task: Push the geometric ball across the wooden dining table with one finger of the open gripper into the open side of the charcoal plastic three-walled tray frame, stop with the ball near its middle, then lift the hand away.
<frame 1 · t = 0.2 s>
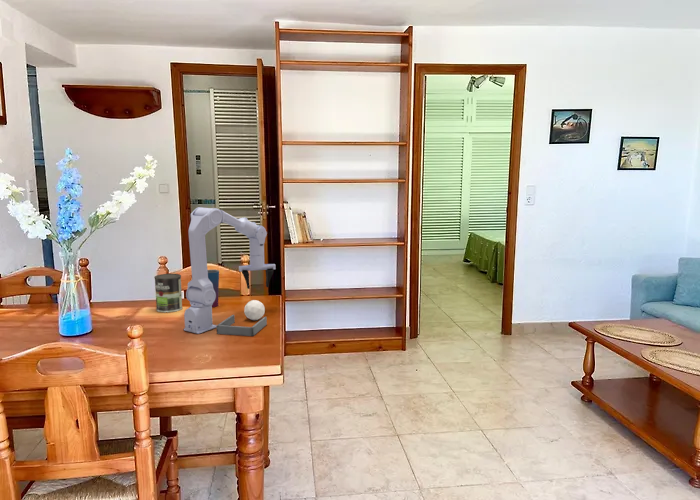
hand: (257, 287, 205), 10 cm above the table, tool pointing down, fingers open, 7 cm apart
cup: (212, 306, 214), on the table
geometric ball: (254, 320, 195), on the table
tray: (242, 329, 183), on the table
coffee can: (169, 309, 209), on the table
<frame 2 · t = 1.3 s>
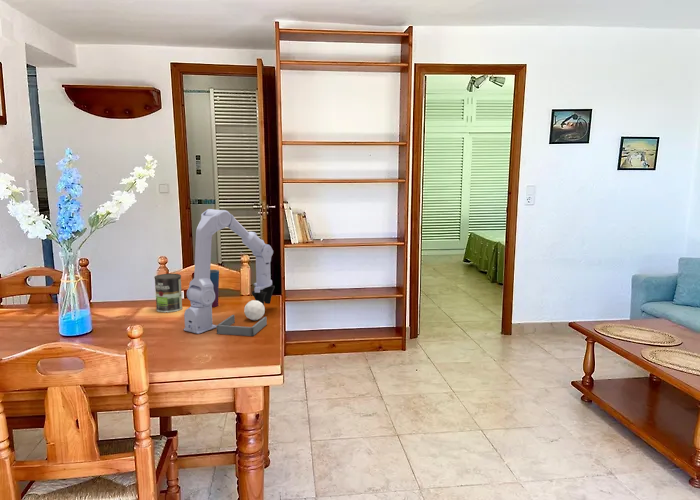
hand: (264, 305, 204), 3 cm above the table, tool pointing down, fingers open, 7 cm apart
nothing on the table moved.
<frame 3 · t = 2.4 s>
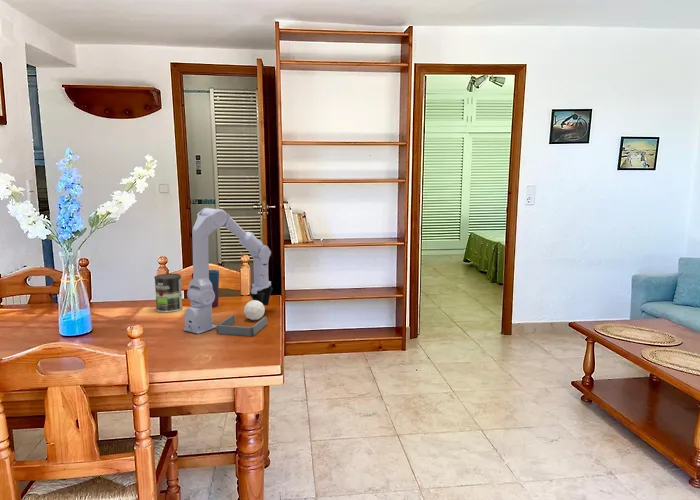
hand: (262, 307, 202), 3 cm above the table, tool pointing down, fingers open, 6 cm apart
geometric ball: (254, 319, 195), on the table, touching gripper
everything else where it was.
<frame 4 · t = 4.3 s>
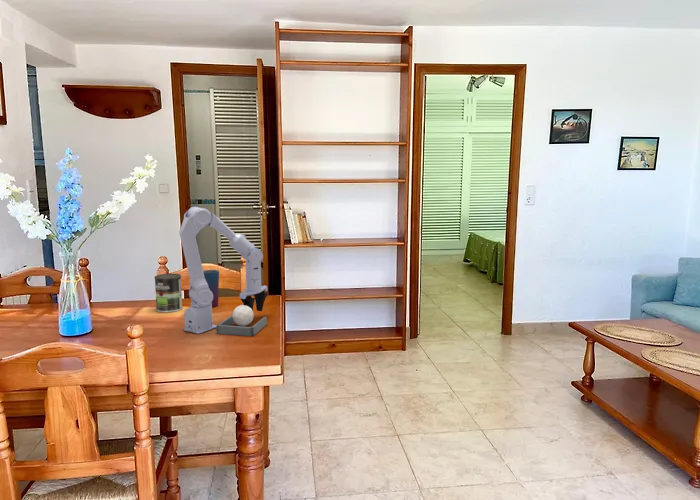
hand: (254, 312, 194), 3 cm above the table, tool pointing down, fingers open, 5 cm apart
geometric ball: (243, 325, 187), on the table, touching gripper
everything else where it was.
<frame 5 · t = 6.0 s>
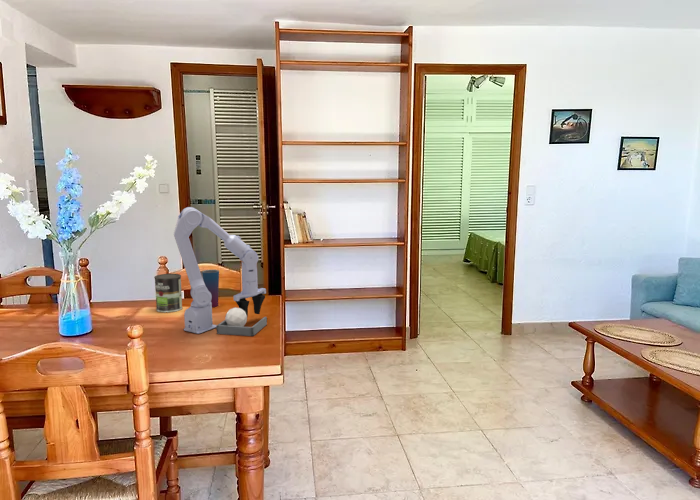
hand: (250, 315, 190), 3 cm above the table, tool pointing down, fingers open, 6 cm apart
geometric ball: (236, 328, 184), on the table, touching gripper
everything else where it was.
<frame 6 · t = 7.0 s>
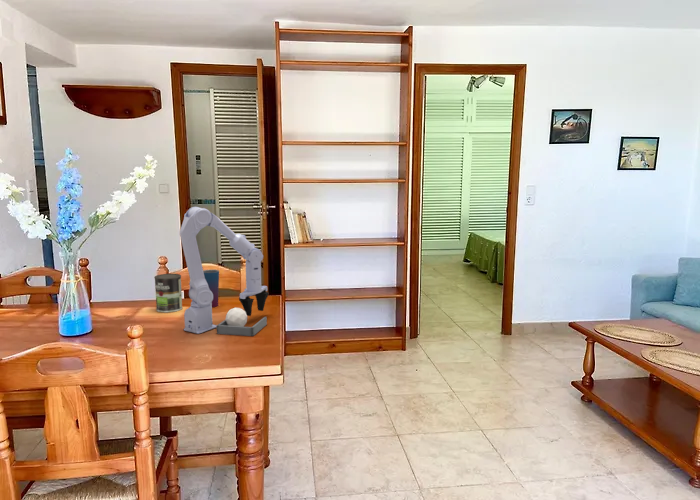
hand: (254, 312, 194), 3 cm above the table, tool pointing down, fingers open, 7 cm apart
geometric ball: (236, 328, 184), on the table
everything else where it was.
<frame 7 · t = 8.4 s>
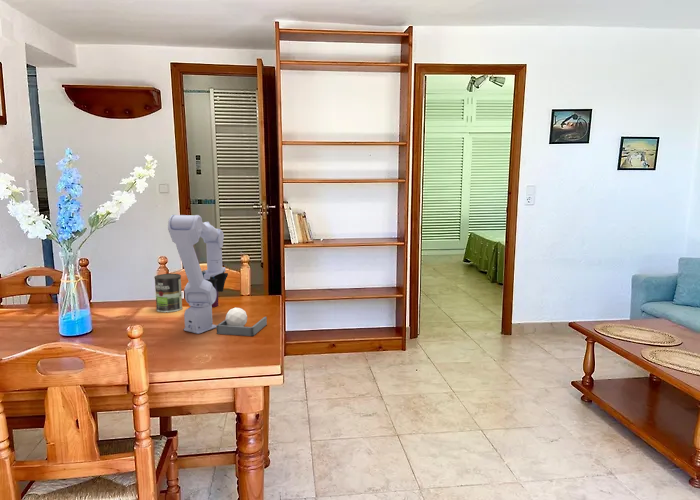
hand: (215, 293, 196), 9 cm above the table, tool pointing down, fingers open, 7 cm apart
nothing on the table moved.
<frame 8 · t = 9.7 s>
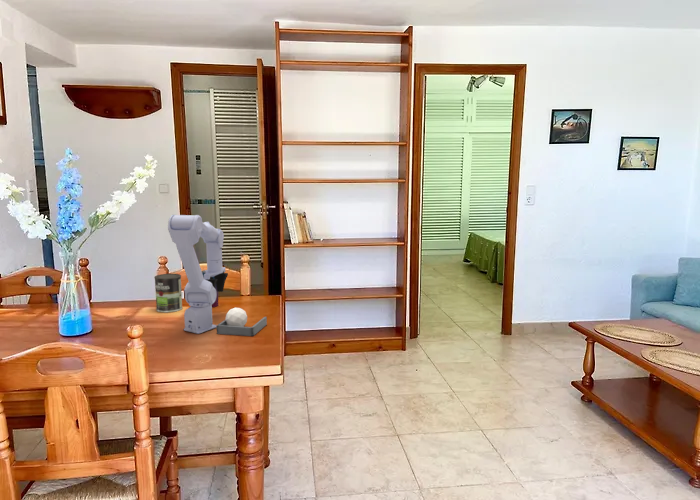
hand: (215, 293, 196), 9 cm above the table, tool pointing down, fingers open, 7 cm apart
nothing on the table moved.
at the end: geometric ball 2.5 cm from the tray (horizontally); geometric ball moved 11.7 cm from its start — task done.
